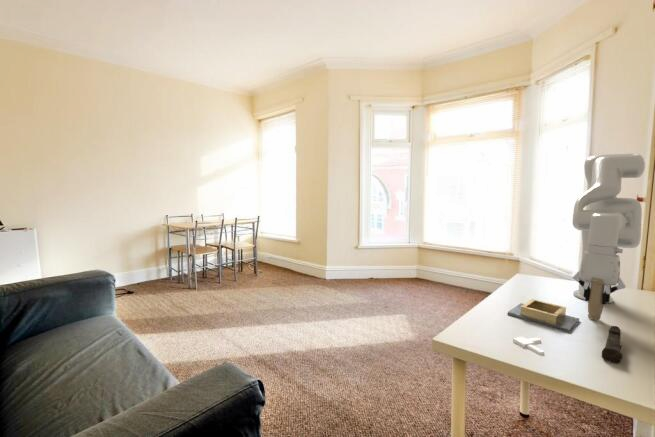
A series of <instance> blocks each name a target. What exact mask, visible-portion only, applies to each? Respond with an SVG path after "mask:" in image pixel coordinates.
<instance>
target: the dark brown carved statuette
mask: <svg viewBox="0 0 655 437" xmlns="http://www.w3.org/2000/svg"><path fill="white" fill-rule="evenodd" d="M622 349H623V346H622V344H621V329H620V327H619V326H616V325H611V326H610V327H609V330H608V336H607V338H606V343H605V346H604V348H603V349H602V350H601V358H602V359H603V360H604V361H607V362H609V363H613V364H620V363H621V361H622V359H623V357H624V356H623V352H622Z"/></svg>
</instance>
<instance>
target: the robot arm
mask: <svg viewBox="0 0 655 437" xmlns="http://www.w3.org/2000/svg"><path fill="white" fill-rule="evenodd" d="M645 168H646V162H645V158H644V157H643V156H642V155H641V154H640V153H619V154H618V153H615V154H613V153H611V154H608V153H607V154H597V155H595V154H594V155H592V156H589V157H587V158H586V159H585V161H584V168H583V169H584V170H583V171H584V175H585V178H586V182H587V184H588V187H589V189H588V190H586V191H585V192H583V193H582V194H581V195H580V196H579V197H578V198H577V199H576V201H575V203H574V206H573V213H572V225H573V226H572V227H573V228H574V229H576V230H578V231H581V241H582V244H581V246H582V250H581V262H580V267H579V271H578V272H576V273H575V274H574V275H573V276H572V279H573V280H574V281H576V282H577V283H578V289H577V290H574V291H573V295H574V296H575V297H577V298H578V299H581V300H584V301H585V302H588V300H589V295H590V289H591V282H592V281H591V279H592V277H593V278H598V279H603V280H604V282H605V283H602V284H605V285H604V294H603V302H602V304H603V306H606V304H611V303H613V302H614V298H613V297H612V296H611V294H612V293H614V292H616V291H619V290H623V289H625V288H626V283H625V282H624V281H623V280H622V279H621V258H620V255H619V254H623V252H624V249H634V248H637V247H638V246H640V243H641V237H642V236H641V235H642V215H643V214H642V204H641V203H640V201H639V200H638V199H636V198H629V197H617V196H618V195H619V194H620V193H621V191H622V179H633V178H634V179H635V178H640V177H641V176H642V175H643V174H644V172H645ZM587 206H588V209H584V208H586V207H587ZM595 281H597V280H596V279H595Z"/></svg>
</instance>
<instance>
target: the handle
mask: <svg viewBox="0 0 655 437" xmlns="http://www.w3.org/2000/svg"><path fill="white" fill-rule="evenodd" d="M595 279H596V280H597V281H595ZM591 281H592V282H591V289H590V295H589V300H588V301H587V313H588V314H587V319H591V320H593V321H599V320H601V318H602V313H603V309H604V305H603V304H602V302H603V294H604V285H605V284H602V283H605V282H604V280H603V279H598V278H593V277H592V279H591Z"/></svg>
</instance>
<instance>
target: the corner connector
mask: <svg viewBox="0 0 655 437" xmlns="http://www.w3.org/2000/svg"><path fill="white" fill-rule="evenodd" d="M541 341H542V339H541V338H540V337H532V338H531V337H530V338H526V337H525V336H519V337H514V338H512V342H514V343H515V344H517V345H519V346H520V347H522V348H526V349H529V350H530V351H532V352H534V353H535V354H538V355H544V354H545V351H544V350H542V349H541V348H540V347H538V346H535V345H537V344H540V343H541Z"/></svg>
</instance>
